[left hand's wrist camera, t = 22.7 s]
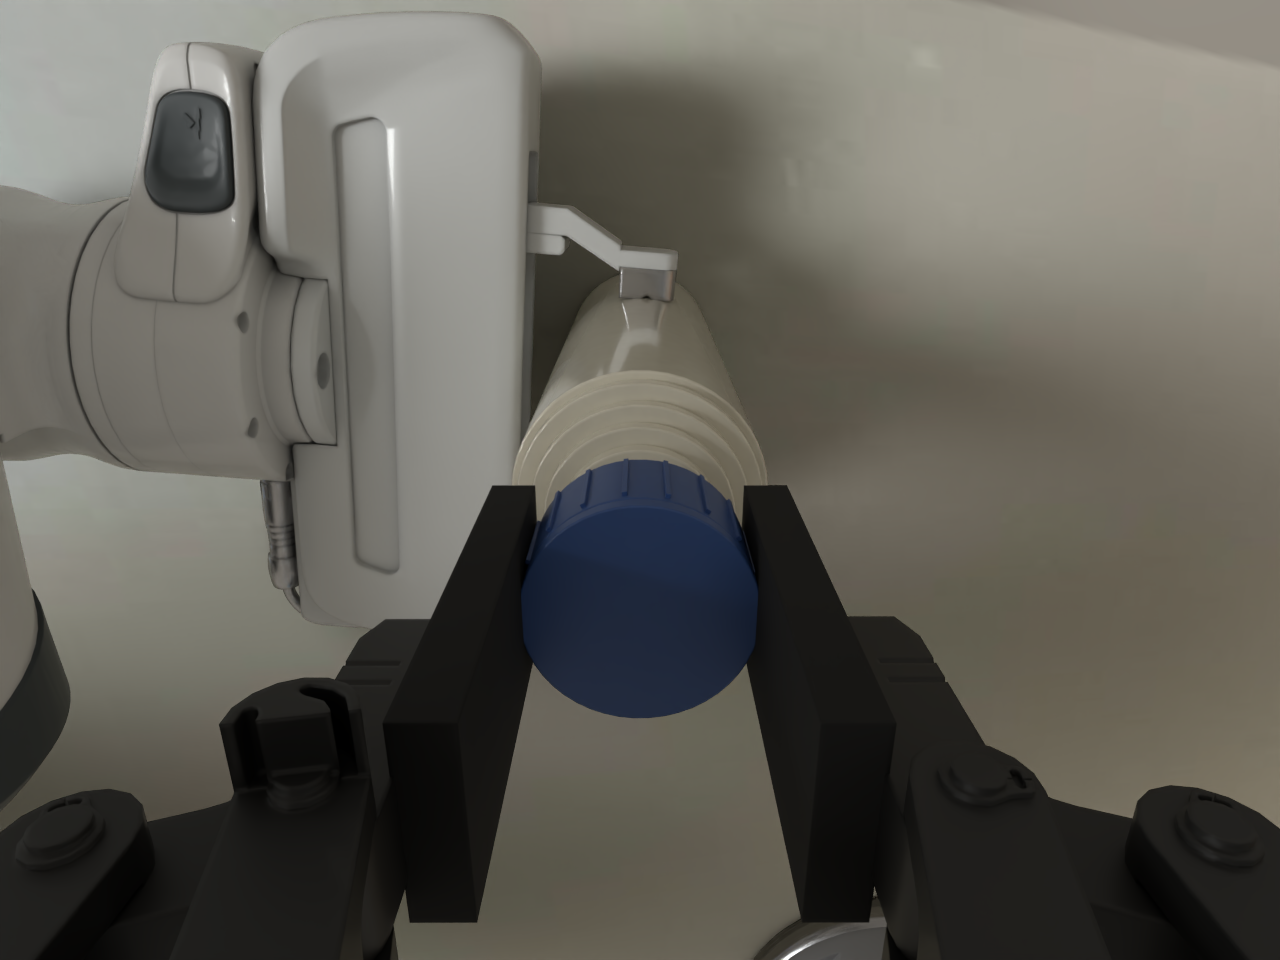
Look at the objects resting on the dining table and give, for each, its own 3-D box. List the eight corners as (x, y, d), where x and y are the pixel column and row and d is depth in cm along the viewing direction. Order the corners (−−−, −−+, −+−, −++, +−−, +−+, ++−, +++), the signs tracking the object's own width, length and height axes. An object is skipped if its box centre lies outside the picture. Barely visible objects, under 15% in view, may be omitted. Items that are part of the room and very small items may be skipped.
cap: (596, 681, 15) (590, 754, 14) (491, 513, 14) (467, 568, 12) (782, 600, 15) (803, 665, 13) (689, 418, 14) (698, 459, 12)
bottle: (708, 400, 34) (805, 726, 14) (578, 408, 34) (493, 741, 14) (704, 267, 32) (811, 427, 12) (566, 275, 32) (448, 447, 12)
